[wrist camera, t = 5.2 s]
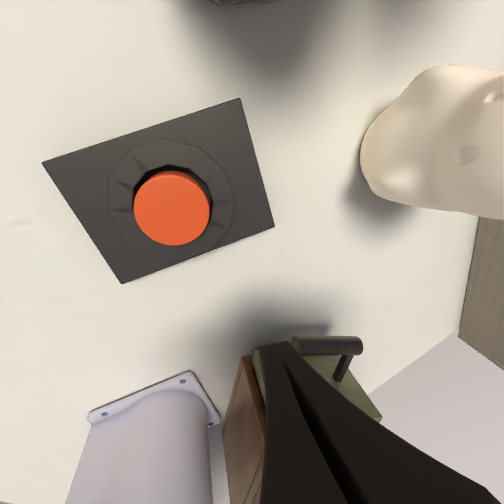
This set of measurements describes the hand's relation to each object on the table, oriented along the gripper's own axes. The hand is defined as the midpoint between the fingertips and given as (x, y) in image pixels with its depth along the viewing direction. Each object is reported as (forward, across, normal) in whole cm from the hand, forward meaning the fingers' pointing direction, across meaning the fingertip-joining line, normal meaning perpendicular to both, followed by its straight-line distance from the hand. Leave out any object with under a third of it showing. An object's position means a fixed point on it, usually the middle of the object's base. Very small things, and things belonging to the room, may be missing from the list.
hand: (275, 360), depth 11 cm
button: (+7, +3, -6) cm, 10 cm away
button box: (+9, +3, -6) cm, 12 cm away
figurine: (+10, -13, -7) cm, 17 cm away
